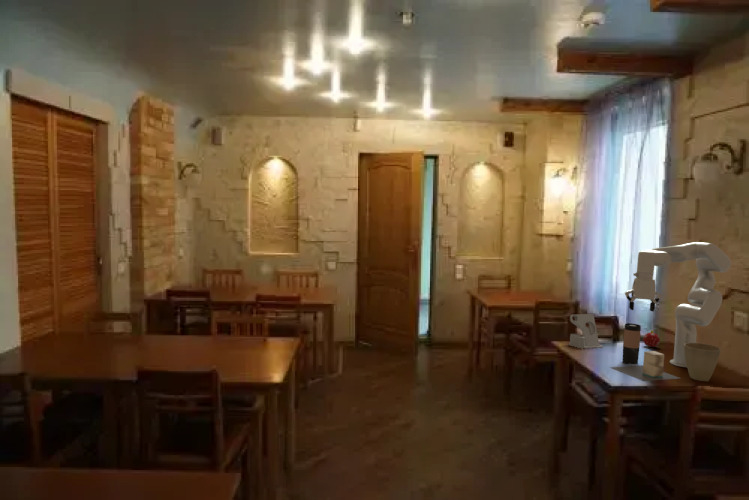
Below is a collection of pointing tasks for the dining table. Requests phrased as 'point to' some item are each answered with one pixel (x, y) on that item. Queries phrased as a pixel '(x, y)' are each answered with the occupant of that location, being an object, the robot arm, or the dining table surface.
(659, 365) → the maple block
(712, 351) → the plant pot
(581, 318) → the phone holder
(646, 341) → the christmas ornament
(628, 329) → the travel mug
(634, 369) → the rubber mat
